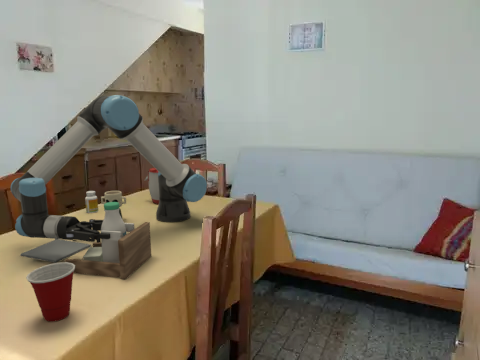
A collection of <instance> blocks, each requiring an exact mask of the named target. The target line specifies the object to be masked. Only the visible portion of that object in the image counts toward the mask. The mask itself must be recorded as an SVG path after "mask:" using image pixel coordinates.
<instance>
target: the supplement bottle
mask: <svg viewBox="0 0 480 360" xmlns="http://www.w3.org/2000/svg"><path fill="white" fill-rule="evenodd" d="M84 200H85V201H84V202H85V212H86V214H94V213H98V212H99V205H98V202H99V201H98V196H97V195H96V191H95V190H88V191H86V197H85V198H84Z"/></svg>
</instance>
